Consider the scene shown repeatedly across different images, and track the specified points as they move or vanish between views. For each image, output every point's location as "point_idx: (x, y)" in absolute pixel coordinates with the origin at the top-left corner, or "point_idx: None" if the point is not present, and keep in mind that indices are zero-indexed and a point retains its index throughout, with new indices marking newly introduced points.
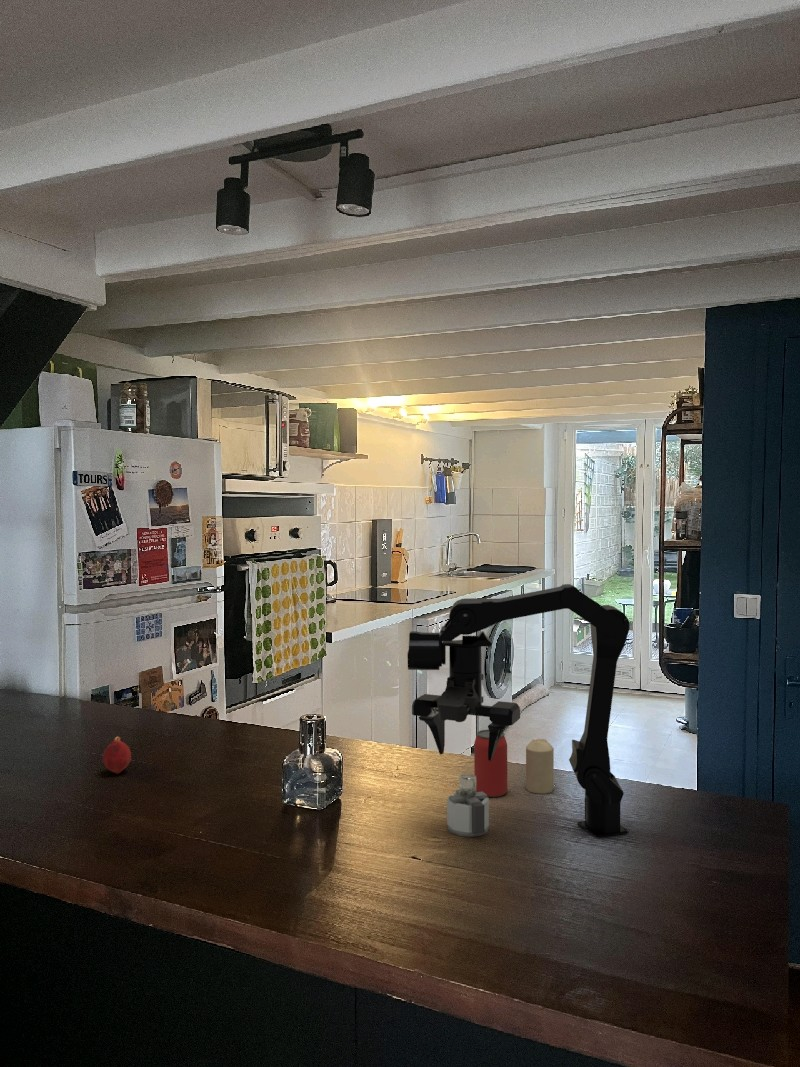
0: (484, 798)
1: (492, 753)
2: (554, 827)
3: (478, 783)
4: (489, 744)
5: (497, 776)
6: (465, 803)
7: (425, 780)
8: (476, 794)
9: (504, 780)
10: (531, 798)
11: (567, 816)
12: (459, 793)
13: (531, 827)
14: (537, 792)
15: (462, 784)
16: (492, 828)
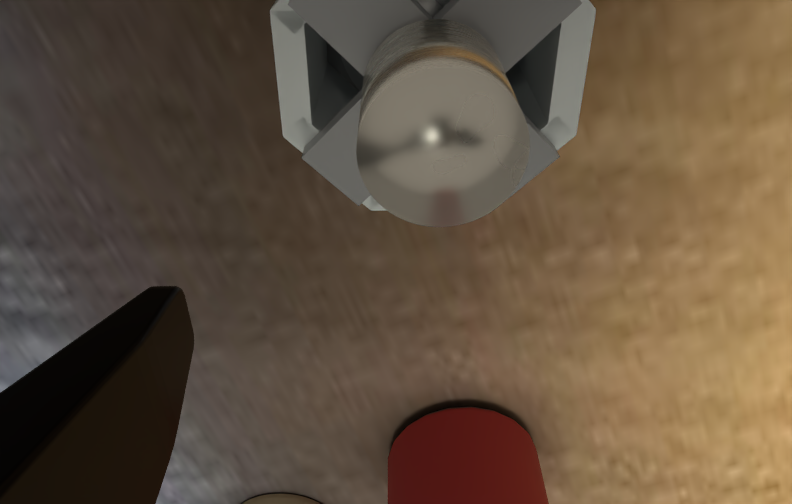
0: (315, 130)
1: (81, 349)
2: (18, 217)
3: (511, 452)
4: (32, 432)
5: (416, 498)
6: None
7: (778, 466)
8: None
9: (391, 497)
10: (276, 450)
11: (43, 346)
12: None
13: (115, 174)
14: (273, 497)
15: (470, 55)
16: None
